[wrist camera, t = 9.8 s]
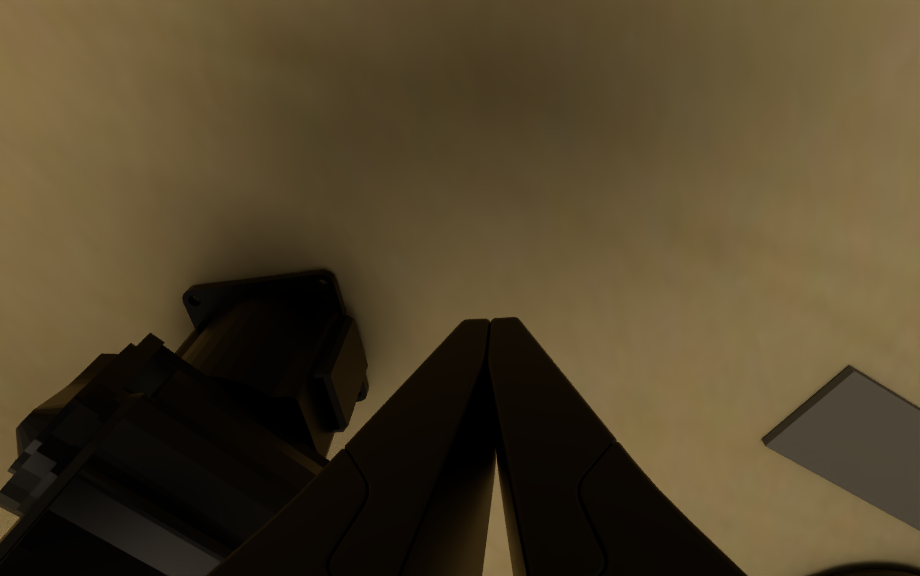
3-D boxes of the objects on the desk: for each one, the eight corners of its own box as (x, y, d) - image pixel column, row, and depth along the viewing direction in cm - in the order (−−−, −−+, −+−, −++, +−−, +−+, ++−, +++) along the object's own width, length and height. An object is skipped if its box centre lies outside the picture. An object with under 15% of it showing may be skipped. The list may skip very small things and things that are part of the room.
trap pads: (529, 636, 35) (529, 642, 34) (849, 365, 24) (854, 371, 24) (672, 695, 37) (673, 702, 37) (1022, 470, 27) (1028, 477, 26)
